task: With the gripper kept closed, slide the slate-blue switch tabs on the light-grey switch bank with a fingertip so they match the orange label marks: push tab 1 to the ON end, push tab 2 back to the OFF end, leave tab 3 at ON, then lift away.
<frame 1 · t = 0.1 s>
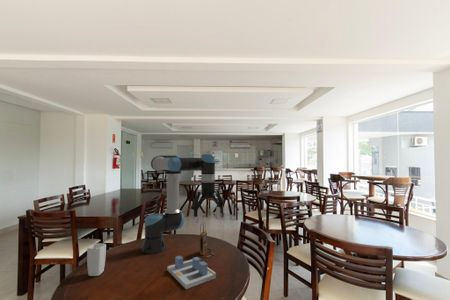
hand: (207, 220, 123), 28 cm above the table, fingers open, 13 cm apart
tab 3: (203, 268, 117), point 5 cm above the table, slide at 7.0 cm
tab 2: (196, 263, 122), point 5 cm above the table, slide at 7.0 cm
tab 1: (179, 262, 124), point 5 cm above the table, slide at 0.0 cm
cup: (96, 274, 120), on the table
switch bank: (190, 273, 120), on the table
multimeter: (208, 253, 147), on the table
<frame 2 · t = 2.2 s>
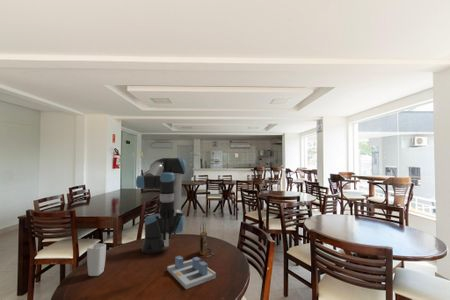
hand: (166, 245, 120), 15 cm above the table, fingers closed
nothing on the table moved.
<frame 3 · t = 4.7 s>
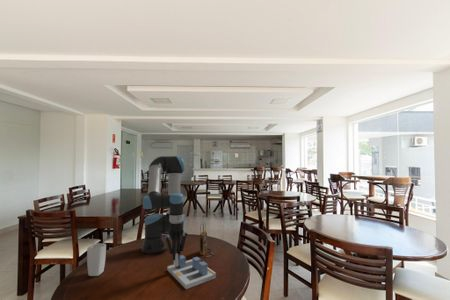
hand: (175, 265, 123), 3 cm above the table, fingers closed
tab 1: (181, 261, 125), point 5 cm above the table, slide at 1.4 cm, touching gripper
everything else where it was.
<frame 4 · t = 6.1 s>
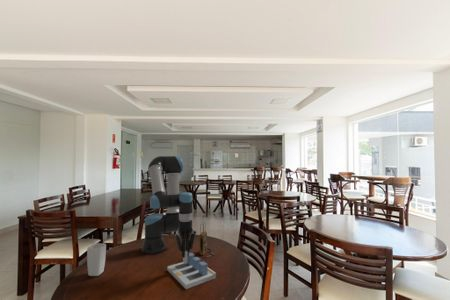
hand: (185, 262, 126), 3 cm above the table, fingers closed
tab 1: (190, 258, 128), point 5 cm above the table, slide at 7.1 cm, touching gripper
everything else where it was.
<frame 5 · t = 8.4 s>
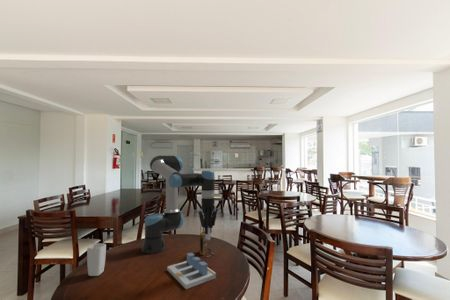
hand: (208, 239, 127), 16 cm above the table, fingers closed
tab 1: (190, 258, 128), point 5 cm above the table, slide at 7.1 cm
everything else where it was.
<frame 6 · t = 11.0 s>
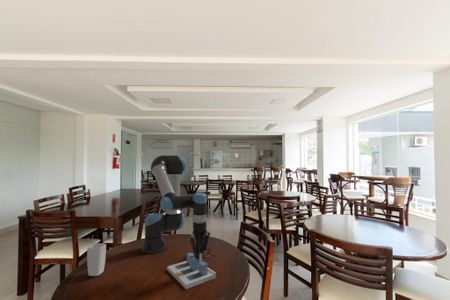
hand: (199, 264, 123), 3 cm above the table, fingers closed
tab 2: (194, 263, 121), point 5 cm above the table, slide at 5.6 cm, touching gripper
everything else where it was.
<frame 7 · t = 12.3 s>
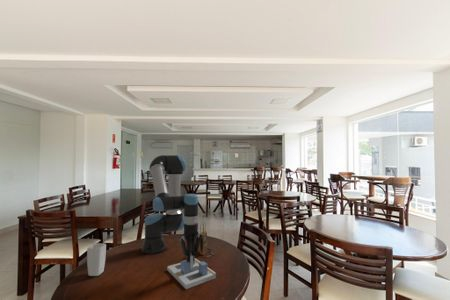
hand: (190, 267, 120), 3 cm above the table, fingers closed
tab 2: (184, 266, 118), point 5 cm above the table, slide at 0.0 cm, touching gripper
everything else where it was.
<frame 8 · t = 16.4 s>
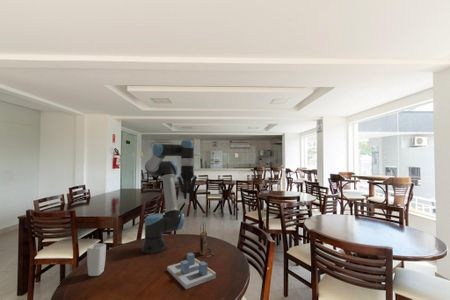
hand: (186, 203, 137), 34 cm above the table, fingers closed
tab 2: (184, 266, 118), point 5 cm above the table, slide at 0.0 cm
everything else where it was.
at the end: tab 1 slide at 7.1 cm; tab 2 slide at 0.0 cm; tab 3 slide at 7.0 cm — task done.
